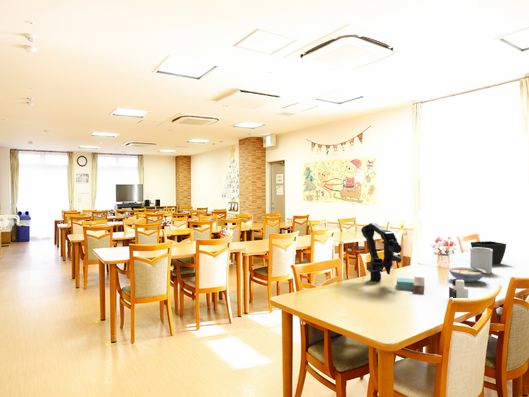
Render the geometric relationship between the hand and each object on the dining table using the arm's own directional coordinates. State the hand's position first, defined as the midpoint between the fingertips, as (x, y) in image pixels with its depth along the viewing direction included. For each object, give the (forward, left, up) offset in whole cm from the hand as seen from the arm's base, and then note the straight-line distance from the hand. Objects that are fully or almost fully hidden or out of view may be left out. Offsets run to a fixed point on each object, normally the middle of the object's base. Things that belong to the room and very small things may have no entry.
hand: (388, 274), depth 242 cm
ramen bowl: (+48, +31, -8) cm, 58 cm away
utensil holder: (+60, +64, -8) cm, 88 cm away
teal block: (+10, 0, -8) cm, 13 cm away
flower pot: (+69, +103, -8) cm, 124 cm away
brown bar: (+18, 0, -8) cm, 20 cm away
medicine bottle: (+40, -18, -8) cm, 44 cm away
